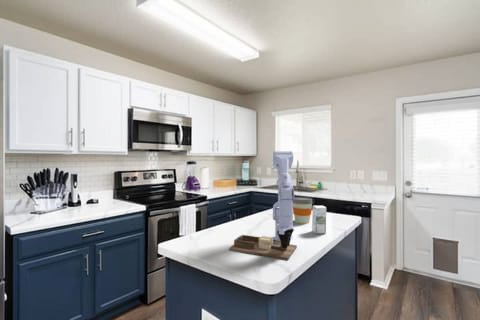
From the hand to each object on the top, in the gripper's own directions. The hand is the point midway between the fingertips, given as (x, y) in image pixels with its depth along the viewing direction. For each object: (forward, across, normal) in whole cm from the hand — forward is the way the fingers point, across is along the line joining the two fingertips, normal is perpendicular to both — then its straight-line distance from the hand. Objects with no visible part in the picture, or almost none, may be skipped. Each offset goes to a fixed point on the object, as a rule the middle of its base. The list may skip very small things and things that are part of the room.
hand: (285, 246), depth 111 cm
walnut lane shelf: (+2, 0, -10) cm, 10 cm away
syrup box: (+3, -37, +9) cm, 38 cm away
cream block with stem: (+1, 0, -5) cm, 5 cm away
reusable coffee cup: (+3, -57, -4) cm, 57 cm away
